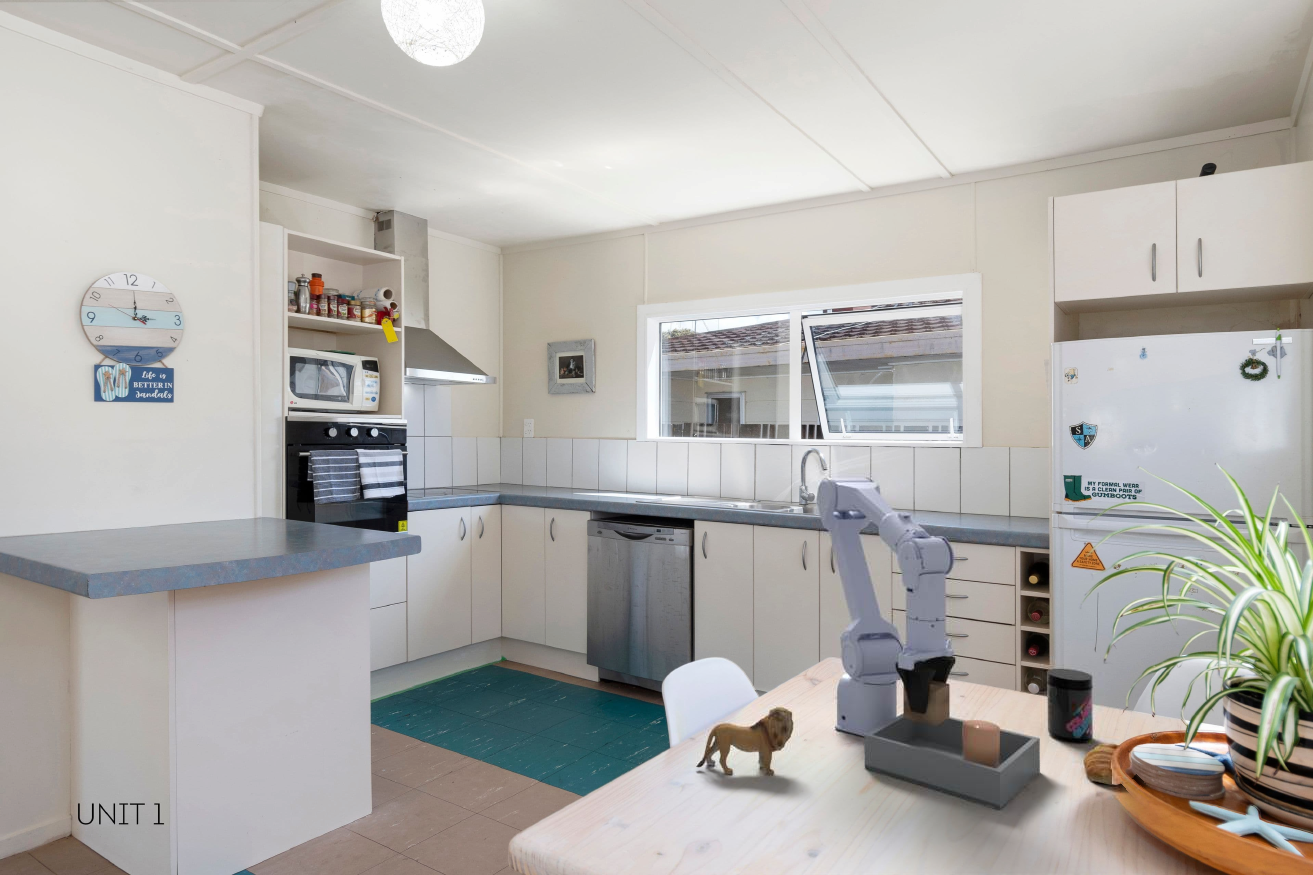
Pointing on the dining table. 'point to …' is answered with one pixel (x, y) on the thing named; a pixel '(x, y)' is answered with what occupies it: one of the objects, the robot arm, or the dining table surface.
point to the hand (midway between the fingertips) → (926, 707)
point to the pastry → (1100, 763)
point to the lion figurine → (751, 739)
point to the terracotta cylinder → (981, 743)
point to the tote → (951, 760)
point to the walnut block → (931, 705)
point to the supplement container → (1070, 705)
